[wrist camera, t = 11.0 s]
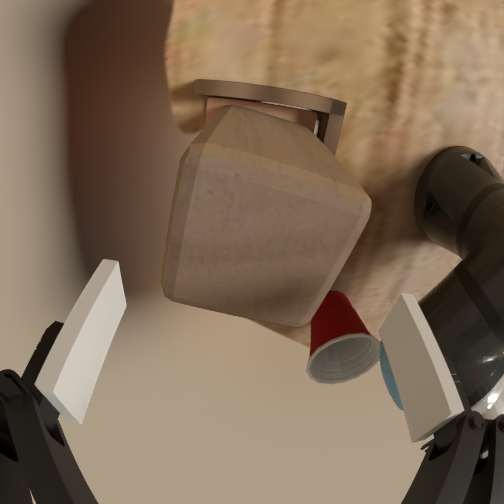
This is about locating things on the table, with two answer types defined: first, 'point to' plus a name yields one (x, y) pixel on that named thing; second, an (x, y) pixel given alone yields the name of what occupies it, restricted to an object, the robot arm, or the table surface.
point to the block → (260, 219)
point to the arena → (328, 106)
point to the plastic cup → (340, 342)
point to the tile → (279, 111)
